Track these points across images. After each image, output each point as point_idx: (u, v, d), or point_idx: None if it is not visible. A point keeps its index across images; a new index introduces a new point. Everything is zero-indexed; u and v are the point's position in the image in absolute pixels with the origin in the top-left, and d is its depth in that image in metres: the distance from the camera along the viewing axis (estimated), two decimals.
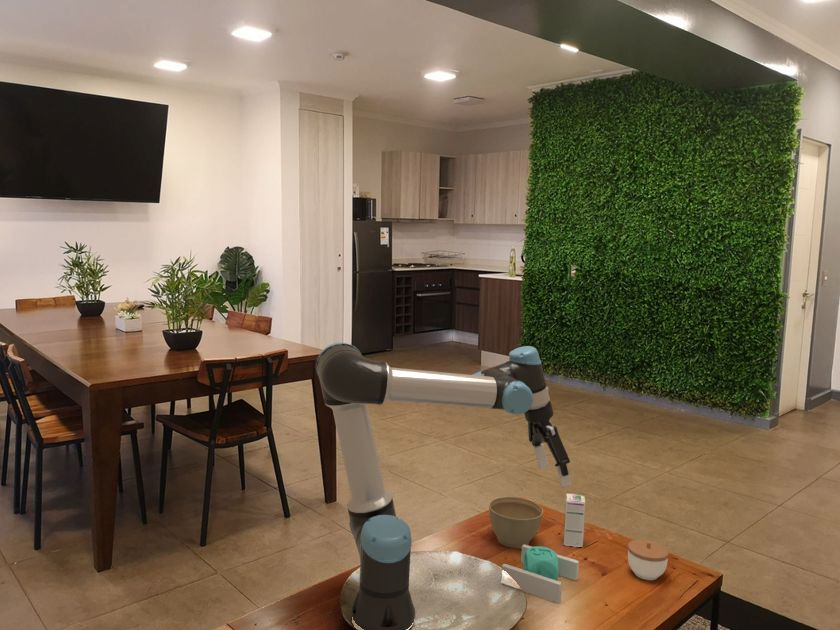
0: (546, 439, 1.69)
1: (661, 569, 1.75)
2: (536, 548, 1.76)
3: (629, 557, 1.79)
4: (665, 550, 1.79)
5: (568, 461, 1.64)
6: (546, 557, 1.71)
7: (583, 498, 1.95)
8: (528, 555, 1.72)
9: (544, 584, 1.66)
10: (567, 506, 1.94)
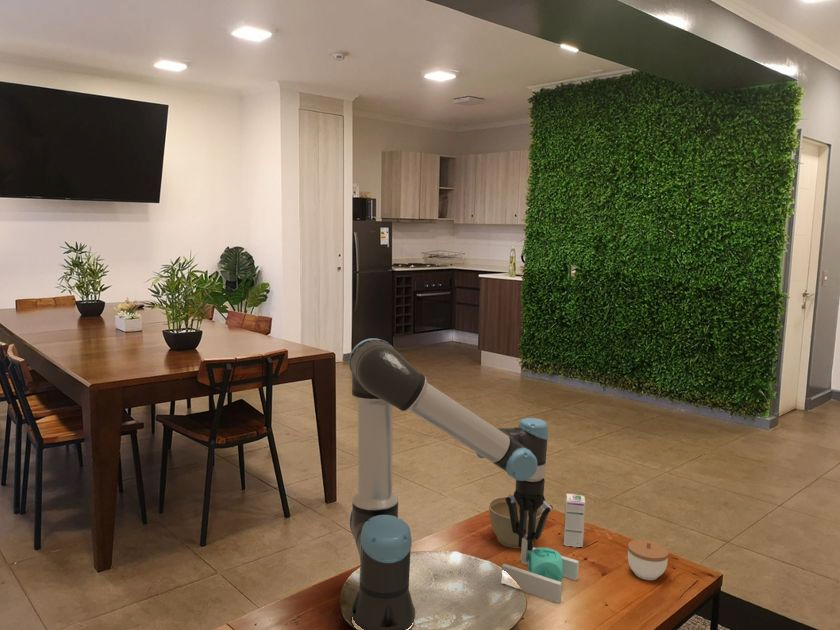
0: (533, 514, 1.73)
1: (661, 569, 1.75)
2: (541, 549, 1.75)
3: (629, 557, 1.79)
4: (665, 550, 1.79)
5: None
6: (550, 558, 1.71)
7: (583, 498, 1.95)
8: (532, 556, 1.72)
9: (544, 584, 1.66)
10: (567, 506, 1.94)
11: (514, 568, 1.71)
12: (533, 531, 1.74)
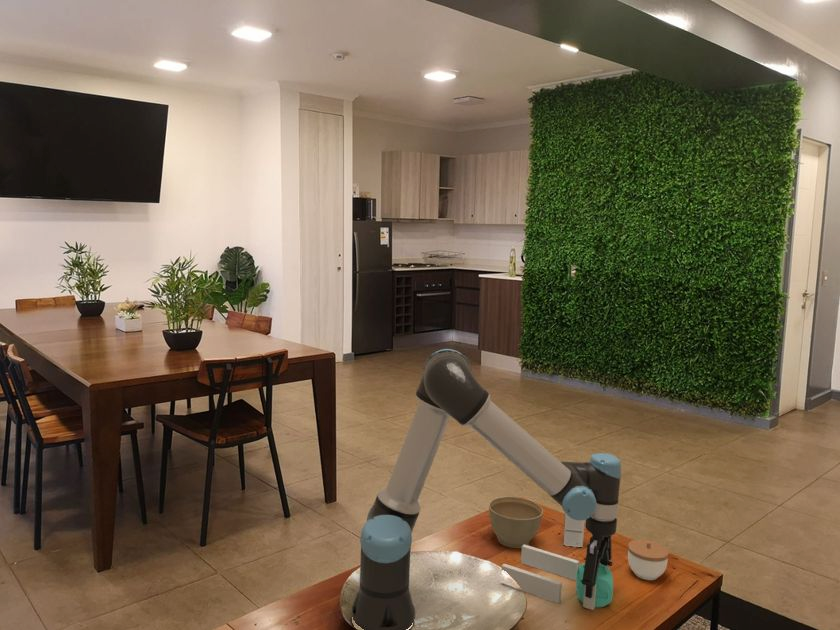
0: None
1: (661, 569, 1.75)
2: None
3: (629, 557, 1.79)
4: (665, 550, 1.79)
5: None
6: (600, 574, 1.64)
7: None
8: (581, 571, 1.65)
9: (544, 584, 1.66)
10: None
11: (514, 568, 1.71)
12: None
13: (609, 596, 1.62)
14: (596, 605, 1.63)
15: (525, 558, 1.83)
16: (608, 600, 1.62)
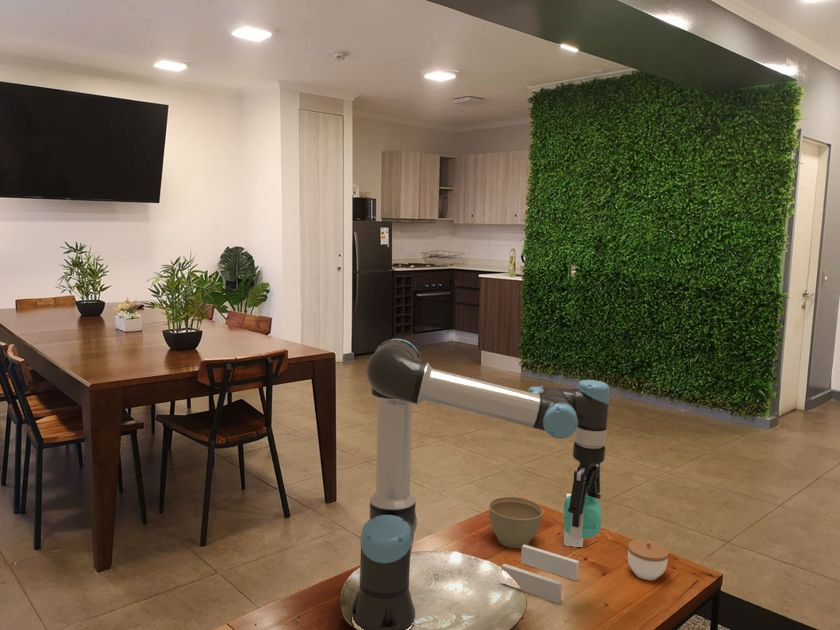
0: None
1: (661, 569, 1.75)
2: None
3: (629, 557, 1.79)
4: (665, 550, 1.79)
5: None
6: (588, 504, 1.59)
7: None
8: (568, 501, 1.60)
9: (544, 584, 1.66)
10: None
11: (514, 568, 1.71)
12: None
13: (597, 526, 1.57)
14: (583, 536, 1.58)
15: (525, 558, 1.83)
16: (596, 530, 1.57)
